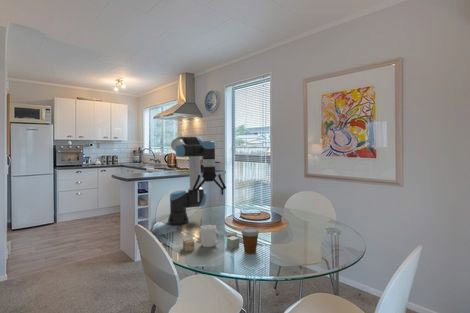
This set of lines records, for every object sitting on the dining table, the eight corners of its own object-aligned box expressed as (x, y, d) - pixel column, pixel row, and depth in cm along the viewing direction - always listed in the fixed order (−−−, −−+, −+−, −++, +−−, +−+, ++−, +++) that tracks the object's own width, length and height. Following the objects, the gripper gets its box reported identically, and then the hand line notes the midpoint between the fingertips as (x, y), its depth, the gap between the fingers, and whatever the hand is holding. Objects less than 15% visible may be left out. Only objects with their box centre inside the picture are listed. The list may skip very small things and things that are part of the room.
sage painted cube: (226, 246, 155) (226, 237, 154) (233, 244, 158) (233, 235, 158) (232, 248, 151) (232, 240, 151) (239, 246, 154) (239, 238, 154)
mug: (216, 249, 150) (216, 230, 149) (198, 246, 155) (198, 228, 154) (224, 244, 158) (223, 226, 157) (206, 241, 163) (206, 223, 162)
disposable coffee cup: (253, 256, 140) (253, 233, 140) (238, 252, 145) (238, 230, 145) (262, 250, 149) (261, 228, 148) (246, 246, 154) (246, 226, 153)
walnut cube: (228, 240, 164) (228, 232, 164) (236, 240, 164) (236, 232, 164) (228, 243, 159) (228, 235, 159) (236, 243, 159) (236, 235, 159)
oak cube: (183, 248, 152) (183, 239, 152) (191, 247, 154) (191, 238, 154) (185, 251, 148) (185, 242, 147) (194, 250, 150) (194, 241, 149)
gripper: (188, 167, 158) (189, 203, 159) (230, 165, 163) (230, 200, 163) (188, 166, 165) (188, 200, 166) (228, 165, 170) (228, 198, 170)
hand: (209, 201), depth 164 cm, fingers open, 13 cm apart
